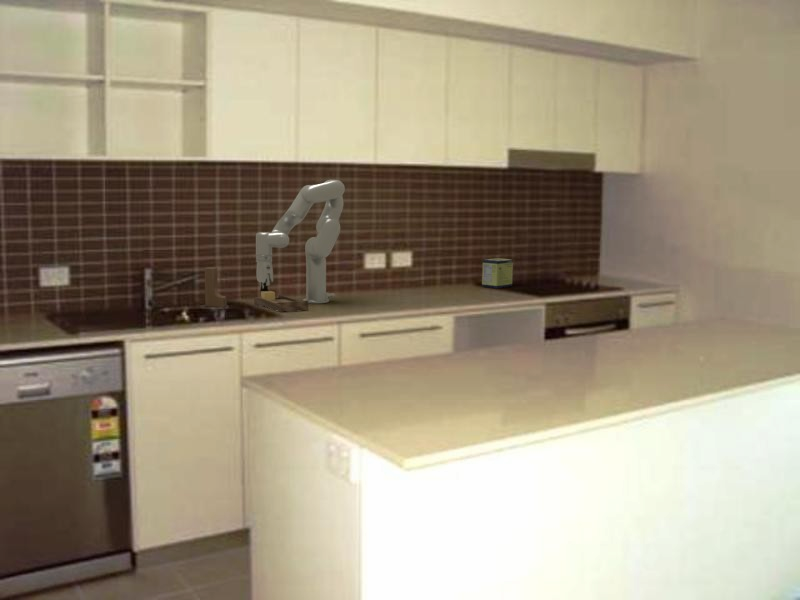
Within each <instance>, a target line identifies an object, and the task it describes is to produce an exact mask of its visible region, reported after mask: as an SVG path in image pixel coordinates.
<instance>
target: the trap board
mask: <svg viewBox="0 0 800 600" xmlns="http://www.w3.org/2000/svg"><path fill="white" fill-rule="evenodd" d="M253 298H254V303H255V305H257V304H258V306H260V305H261V307H263V306H265V307H264V308H266V307H268V308H267V309H269V308H271V309H270V310H272V309H274V310H273V311H275V310H278V311H280V312H279V313H284V312H283V311H293V312H298V311H297V310H306V311H309V303H308V301H303V300H297V299H294V298H291V297H287V296H285V295H280V294H279V295H278V296H277V297H276V296H275V301H267V300H264V299H261V297H257V296H254V297H253ZM278 311H277V312H278Z"/></svg>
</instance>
